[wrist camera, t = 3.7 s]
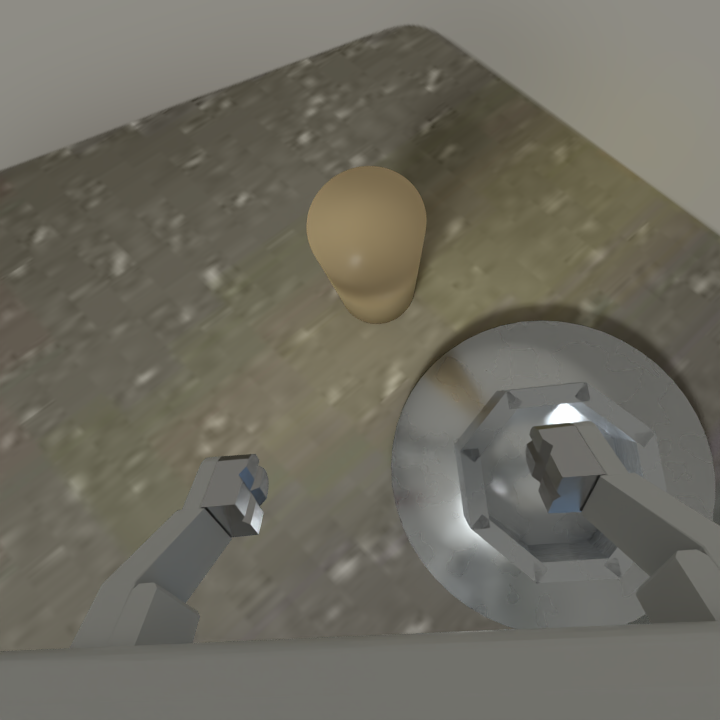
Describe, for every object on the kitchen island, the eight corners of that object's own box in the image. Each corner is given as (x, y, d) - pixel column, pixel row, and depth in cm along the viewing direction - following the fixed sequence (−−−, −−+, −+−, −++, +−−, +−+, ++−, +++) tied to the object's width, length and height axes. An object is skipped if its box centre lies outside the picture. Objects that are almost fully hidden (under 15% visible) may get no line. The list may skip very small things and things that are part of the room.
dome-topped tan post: (325, 294, 24) (282, 236, 15) (371, 237, 24) (355, 143, 15) (383, 338, 23) (375, 306, 14) (430, 279, 23) (451, 209, 14)
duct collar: (335, 486, 22) (325, 501, 19) (506, 268, 22) (523, 250, 19) (574, 692, 20) (606, 746, 17) (766, 448, 20) (831, 458, 17)
